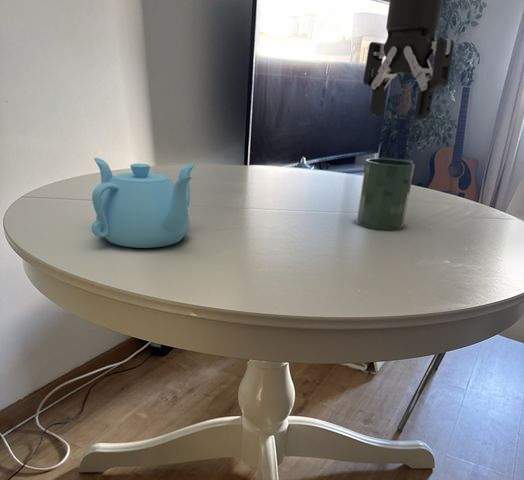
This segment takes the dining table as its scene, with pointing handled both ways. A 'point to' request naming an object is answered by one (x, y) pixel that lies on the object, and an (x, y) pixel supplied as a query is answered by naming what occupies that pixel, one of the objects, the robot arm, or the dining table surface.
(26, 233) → the dining table surface
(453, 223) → the dining table surface
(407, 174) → the holder
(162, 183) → the teapot
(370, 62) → the robot arm
